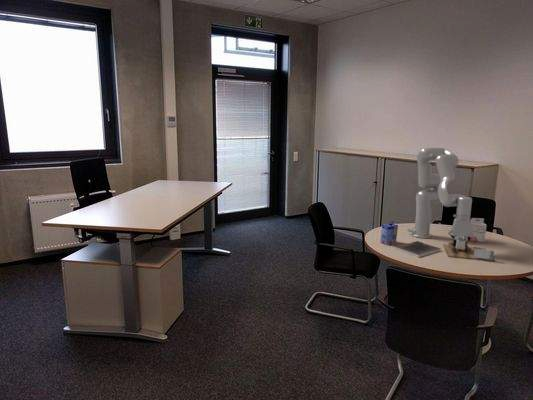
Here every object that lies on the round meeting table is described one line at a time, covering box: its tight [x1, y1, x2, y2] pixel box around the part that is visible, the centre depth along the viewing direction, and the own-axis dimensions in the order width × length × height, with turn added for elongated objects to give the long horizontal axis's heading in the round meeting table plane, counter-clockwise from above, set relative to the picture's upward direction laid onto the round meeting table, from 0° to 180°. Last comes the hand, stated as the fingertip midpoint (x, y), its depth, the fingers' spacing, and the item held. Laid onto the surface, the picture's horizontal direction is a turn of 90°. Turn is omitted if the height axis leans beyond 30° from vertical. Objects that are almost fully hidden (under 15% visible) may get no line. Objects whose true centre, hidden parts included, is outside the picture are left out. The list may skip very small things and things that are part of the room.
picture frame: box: [395, 240, 442, 258], centre depth 239 cm, size 16×2×22 cm
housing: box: [442, 241, 495, 262], centre depth 234 cm, size 24×22×5 cm
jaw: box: [456, 236, 466, 249], centre depth 237 cm, size 4×7×6 cm, turn 164°
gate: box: [473, 249, 495, 260], centre depth 222 cm, size 10×2×5 cm, turn 74°
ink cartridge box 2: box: [468, 217, 487, 243], centre depth 258 cm, size 9×5×15 cm, turn 84°
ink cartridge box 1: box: [380, 220, 399, 246], centre depth 251 cm, size 10×6×14 cm, turn 123°
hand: (459, 246), depth 237 cm, fingers closed on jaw, 4 cm apart
